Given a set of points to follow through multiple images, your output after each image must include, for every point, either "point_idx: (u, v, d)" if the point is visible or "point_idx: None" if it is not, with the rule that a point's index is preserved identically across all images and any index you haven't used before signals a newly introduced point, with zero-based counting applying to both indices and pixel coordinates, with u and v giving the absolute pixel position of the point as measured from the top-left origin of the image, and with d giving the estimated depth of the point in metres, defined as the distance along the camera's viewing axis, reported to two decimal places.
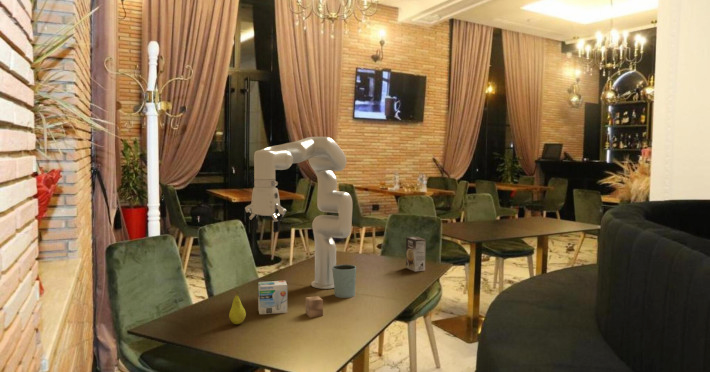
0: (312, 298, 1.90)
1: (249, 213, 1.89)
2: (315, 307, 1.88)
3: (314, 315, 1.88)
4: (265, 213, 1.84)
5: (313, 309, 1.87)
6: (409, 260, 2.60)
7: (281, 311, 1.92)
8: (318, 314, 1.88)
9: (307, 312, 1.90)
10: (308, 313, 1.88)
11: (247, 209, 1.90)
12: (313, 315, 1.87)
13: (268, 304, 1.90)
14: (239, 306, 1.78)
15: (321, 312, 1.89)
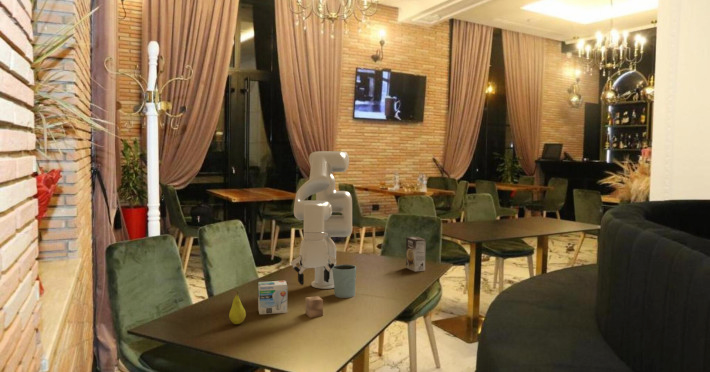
0: (312, 298, 1.90)
1: (297, 267, 1.85)
2: (315, 307, 1.88)
3: (314, 315, 1.88)
4: (320, 265, 1.87)
5: (313, 309, 1.87)
6: (409, 260, 2.60)
7: (281, 311, 1.92)
8: (318, 314, 1.88)
9: (307, 312, 1.90)
10: (308, 313, 1.88)
11: (294, 264, 1.85)
12: (313, 315, 1.87)
13: (268, 304, 1.90)
14: (239, 306, 1.78)
15: (321, 312, 1.89)
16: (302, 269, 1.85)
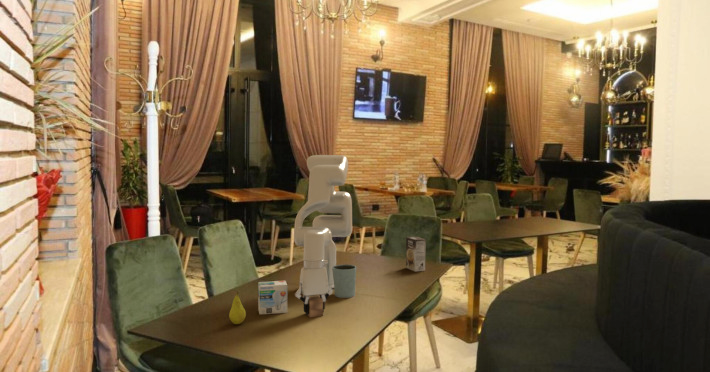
0: (312, 298, 1.89)
1: (303, 298, 1.87)
2: (315, 307, 1.87)
3: (314, 315, 1.88)
4: (320, 292, 1.88)
5: (313, 309, 1.87)
6: (409, 260, 2.60)
7: (281, 311, 1.92)
8: (318, 314, 1.88)
9: None
10: None
11: (299, 295, 1.87)
12: (313, 315, 1.87)
13: (268, 304, 1.90)
14: (239, 306, 1.78)
15: (321, 312, 1.89)
16: (306, 299, 1.87)
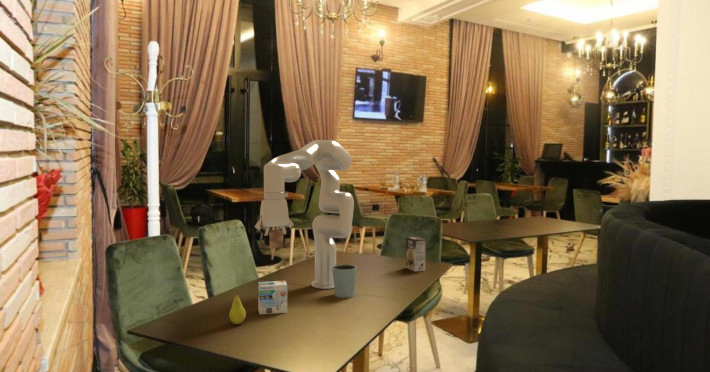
0: (273, 230, 1.91)
1: (263, 229, 1.89)
2: (275, 239, 1.89)
3: (275, 247, 1.89)
4: (280, 224, 1.90)
5: (273, 240, 1.89)
6: (409, 260, 2.60)
7: (281, 311, 1.92)
8: (278, 246, 1.90)
9: None
10: None
11: (259, 227, 1.88)
12: (273, 246, 1.89)
13: (268, 304, 1.90)
14: (239, 306, 1.78)
15: (281, 244, 1.90)
16: (266, 230, 1.89)
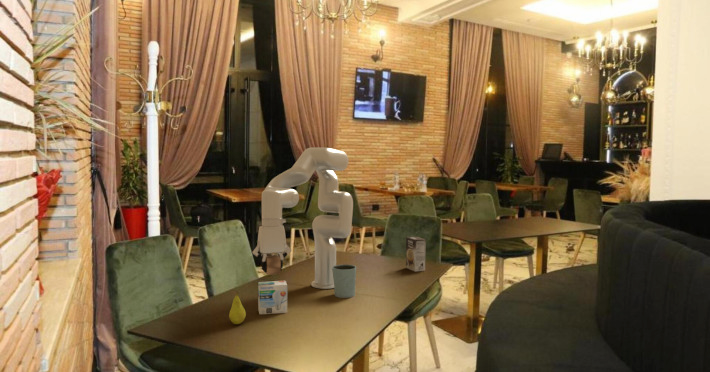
0: (270, 256, 1.92)
1: (260, 255, 1.90)
2: (273, 265, 1.90)
3: (272, 273, 1.90)
4: (277, 250, 1.91)
5: (270, 266, 1.90)
6: (409, 260, 2.60)
7: (281, 311, 1.92)
8: (275, 272, 1.91)
9: None
10: None
11: (256, 253, 1.89)
12: (270, 273, 1.90)
13: (268, 304, 1.90)
14: (239, 306, 1.78)
15: (279, 270, 1.91)
16: (264, 257, 1.90)
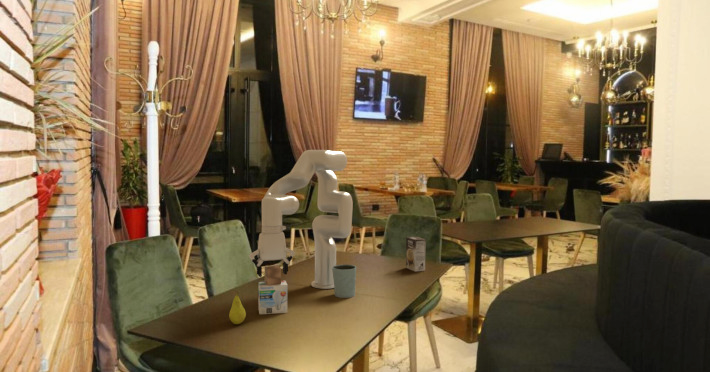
0: (271, 267, 1.93)
1: (255, 260, 1.89)
2: (273, 275, 1.91)
3: (272, 283, 1.91)
4: (278, 257, 1.91)
5: (271, 277, 1.90)
6: (409, 260, 2.60)
7: (281, 311, 1.92)
8: (276, 283, 1.91)
9: (265, 280, 1.93)
10: (266, 281, 1.91)
11: (252, 257, 1.89)
12: (271, 283, 1.90)
13: (268, 304, 1.90)
14: (239, 306, 1.78)
15: (279, 280, 1.92)
16: (260, 262, 1.89)
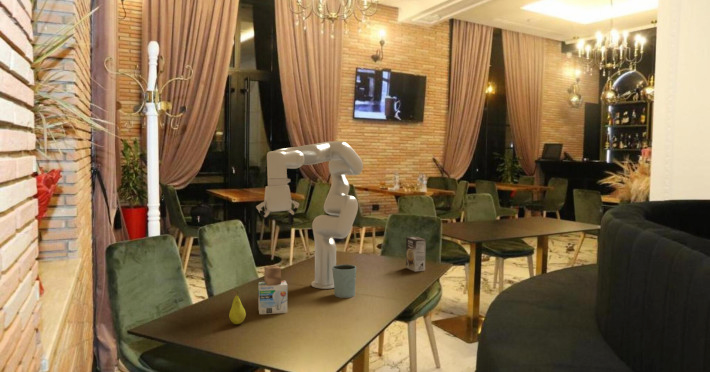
0: (270, 267, 1.93)
1: (262, 211, 2.00)
2: (273, 275, 1.91)
3: (272, 283, 1.91)
4: (283, 208, 2.02)
5: (271, 277, 1.90)
6: (409, 260, 2.60)
7: (281, 311, 1.92)
8: (276, 283, 1.91)
9: (265, 280, 1.93)
10: (266, 281, 1.91)
11: (260, 208, 1.99)
12: (271, 283, 1.90)
13: (268, 304, 1.90)
14: (239, 306, 1.78)
15: (279, 280, 1.92)
16: (267, 212, 2.00)
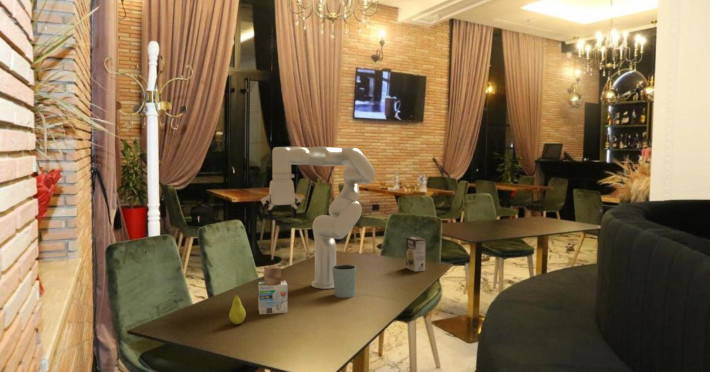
0: (270, 267, 1.93)
1: None
2: (273, 275, 1.91)
3: (272, 283, 1.91)
4: (287, 202, 2.10)
5: (271, 277, 1.90)
6: (409, 260, 2.60)
7: (281, 311, 1.92)
8: (276, 283, 1.91)
9: (265, 280, 1.93)
10: (266, 281, 1.91)
11: (264, 201, 2.08)
12: (271, 283, 1.90)
13: (268, 304, 1.90)
14: (239, 306, 1.78)
15: (279, 280, 1.92)
16: (271, 206, 2.08)
